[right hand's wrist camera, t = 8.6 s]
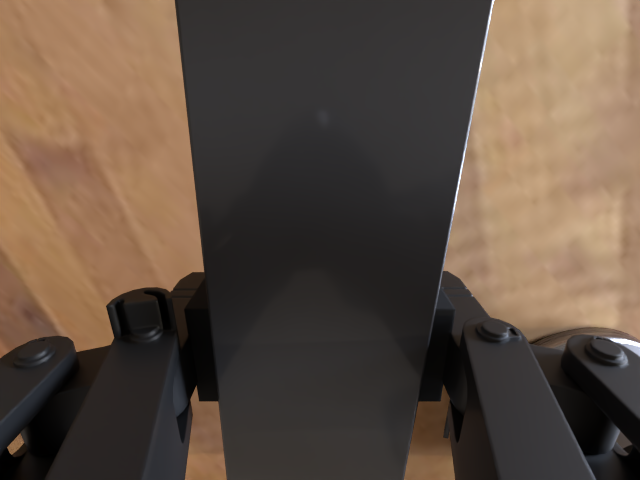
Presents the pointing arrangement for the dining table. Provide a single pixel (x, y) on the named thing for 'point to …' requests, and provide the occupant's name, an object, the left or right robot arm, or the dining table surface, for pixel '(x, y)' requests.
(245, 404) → the rail
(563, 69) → the dining table surface
